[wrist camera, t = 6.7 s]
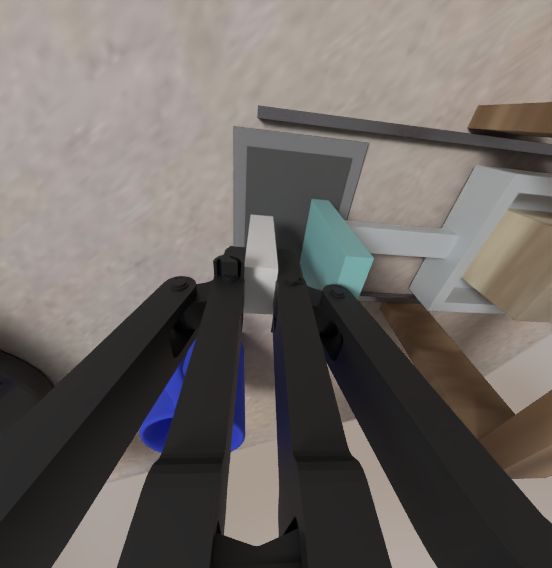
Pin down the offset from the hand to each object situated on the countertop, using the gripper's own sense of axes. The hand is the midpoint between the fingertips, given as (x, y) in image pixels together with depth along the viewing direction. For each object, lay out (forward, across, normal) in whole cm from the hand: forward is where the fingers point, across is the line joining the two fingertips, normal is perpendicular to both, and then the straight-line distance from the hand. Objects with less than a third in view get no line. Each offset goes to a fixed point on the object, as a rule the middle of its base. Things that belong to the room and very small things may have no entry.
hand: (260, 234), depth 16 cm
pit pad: (+3, +2, 0) cm, 4 cm away
